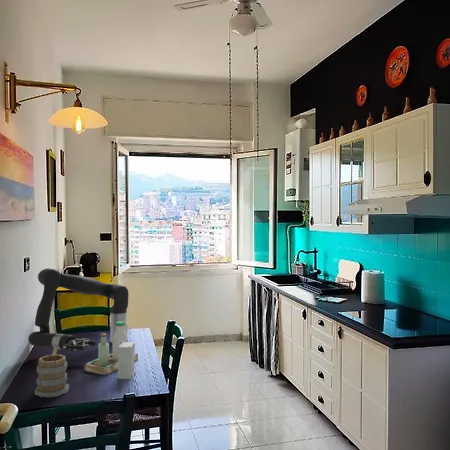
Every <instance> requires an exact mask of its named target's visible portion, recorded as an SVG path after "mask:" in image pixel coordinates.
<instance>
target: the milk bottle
mask: <svg viewBox="0 0 450 450" xmlns="http://www.w3.org/2000/svg"><path fill="white" fill-rule="evenodd" d="M124 327H125V322H123V321H119V322H116V330H115V333H114V335H113V341H112V343H111V344H112V347H111V349H112V350H111V351H112V358H113V359H118V357H119V346H120V345H121V344H122V342H129V338H128V333H127V334H126V331H125V328H124Z"/></svg>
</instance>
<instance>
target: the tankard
mask: <svg viewBox="0 0 450 450" xmlns="http://www.w3.org/2000/svg"><path fill="white" fill-rule="evenodd" d="M66 360H67V359H66V355H63V354H58V349H57V348H52V353H51V354H49V355H44V356H41V357H40V358H38V361H37V365H36V373H37V374H38V376H37V378H36V385H38V386H36V388H35V390H34V396H37V395H38V396H37V397H40V398H42V397H46V398H56V397H60V396H61V395H62V396H63V395H65V394H67V393H68V391H69V388H70V384H69V383H67V379H68V373H67V372H66V370H67V367H68V361H66Z"/></svg>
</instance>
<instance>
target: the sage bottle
mask: <svg viewBox="0 0 450 450" xmlns="http://www.w3.org/2000/svg"><path fill="white" fill-rule="evenodd" d="M99 335H100V343H97V344H98V345H97V349H98V350H97V353H98V354H97V359H98V366H100V367H106V366H109V354H110V342H107V336H108V333H106V332H103V333H100V334H99Z"/></svg>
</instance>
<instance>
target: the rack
mask: <svg viewBox="0 0 450 450" xmlns="http://www.w3.org/2000/svg"><path fill="white" fill-rule="evenodd" d="M138 357H139V355H138V353H135V354H134V362H136V361H139V358H138ZM116 371H118V359H113V358H112V353H109V366H106V367H100V366H98V358H96V359H93V360H92V361H89V362H86V364H84V372H88V373H94V374H99V375H105V376H106V375H107V376H108V375H109V374H111V373H113V372H116Z"/></svg>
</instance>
